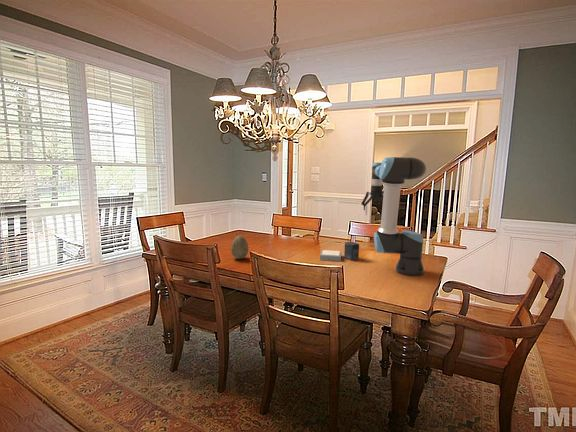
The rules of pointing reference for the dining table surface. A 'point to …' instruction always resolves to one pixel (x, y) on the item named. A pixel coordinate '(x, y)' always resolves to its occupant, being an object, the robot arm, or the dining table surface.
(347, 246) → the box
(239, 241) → the decorative egg
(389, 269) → the dining table surface
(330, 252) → the plinth
